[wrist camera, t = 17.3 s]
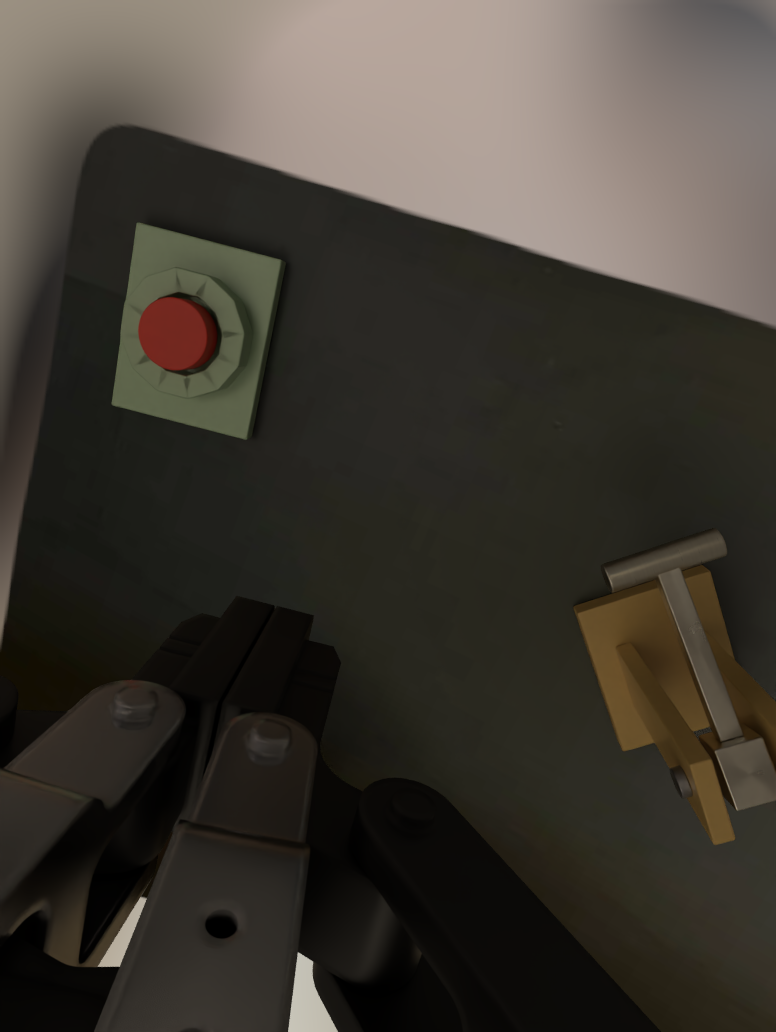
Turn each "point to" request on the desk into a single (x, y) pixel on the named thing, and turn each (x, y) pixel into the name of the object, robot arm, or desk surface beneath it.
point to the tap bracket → (670, 686)
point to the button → (177, 333)
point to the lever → (702, 664)
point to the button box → (239, 322)
